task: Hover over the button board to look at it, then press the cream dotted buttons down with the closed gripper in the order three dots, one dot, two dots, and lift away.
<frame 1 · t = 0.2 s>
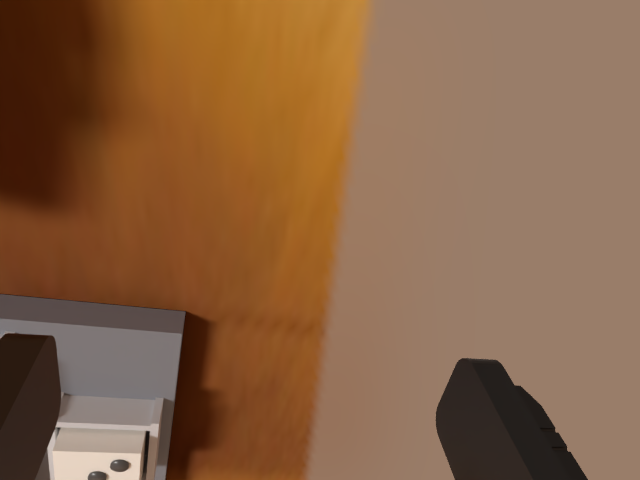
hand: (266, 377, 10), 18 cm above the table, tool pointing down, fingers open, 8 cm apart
button board: (48, 401, 34), on the table
button three: (101, 462, 32), point 4 cm above the table, slide at 0.0 cm
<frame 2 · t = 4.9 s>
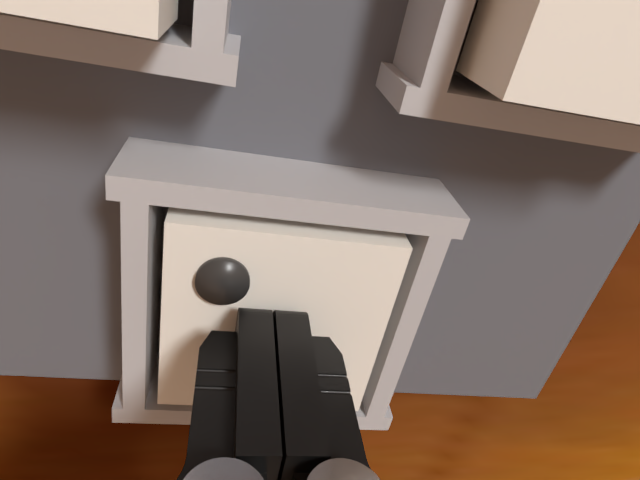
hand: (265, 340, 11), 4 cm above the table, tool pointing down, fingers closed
button board: (295, 84, 12), on the table
button three: (274, 305, 12), point 3 cm above the table, slide at 1.3 cm, touching gripper
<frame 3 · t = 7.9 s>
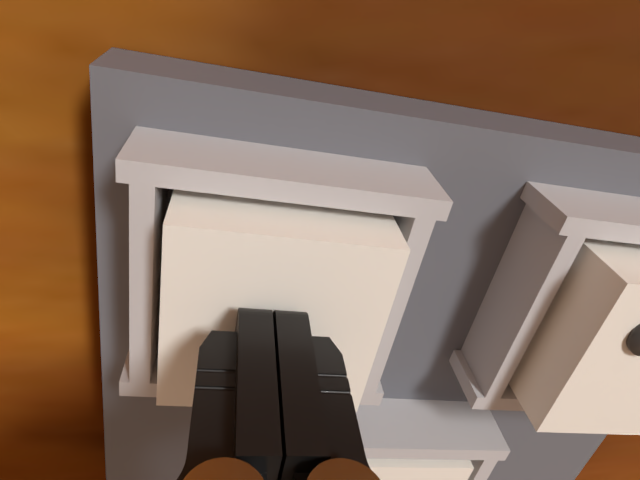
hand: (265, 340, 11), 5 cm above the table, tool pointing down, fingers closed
button board: (388, 333, 18), on the table
button one: (273, 307, 12), point 4 cm above the table, slide at 0.5 cm, touching gripper
button two: (638, 345, 13), point 4 cm above the table, slide at 0.0 cm
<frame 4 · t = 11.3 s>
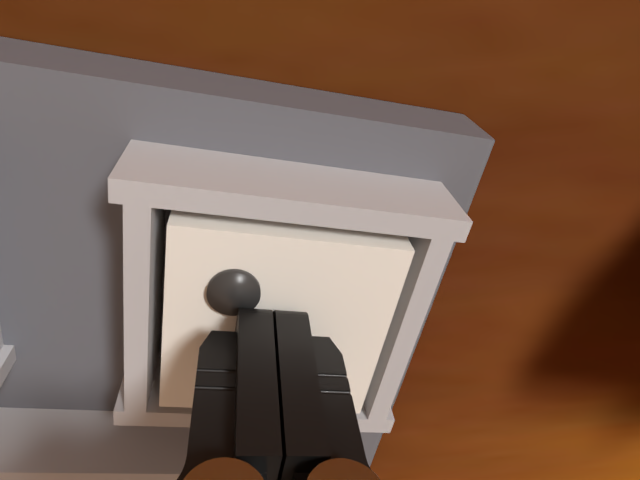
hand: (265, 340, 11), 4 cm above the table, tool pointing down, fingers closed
button board: (95, 332, 15), on the table
button two: (276, 307, 12), point 3 cm above the table, slide at 1.3 cm, touching gripper
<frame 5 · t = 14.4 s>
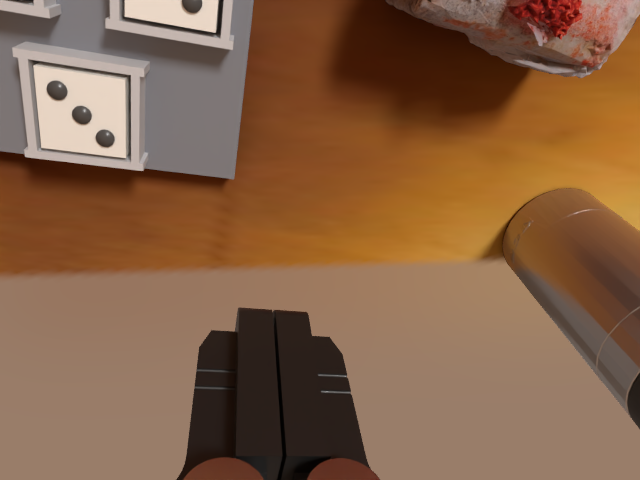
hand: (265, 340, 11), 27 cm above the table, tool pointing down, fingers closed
button board: (96, 25, 31), on the table
button three: (86, 110, 31), point 3 cm above the table, slide at 1.3 cm
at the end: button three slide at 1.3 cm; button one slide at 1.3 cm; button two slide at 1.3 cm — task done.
